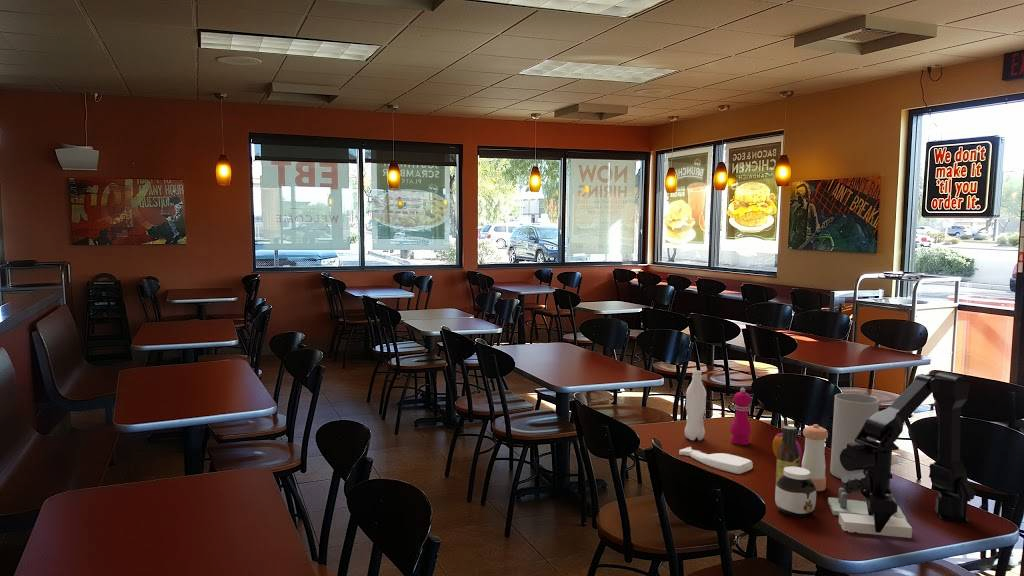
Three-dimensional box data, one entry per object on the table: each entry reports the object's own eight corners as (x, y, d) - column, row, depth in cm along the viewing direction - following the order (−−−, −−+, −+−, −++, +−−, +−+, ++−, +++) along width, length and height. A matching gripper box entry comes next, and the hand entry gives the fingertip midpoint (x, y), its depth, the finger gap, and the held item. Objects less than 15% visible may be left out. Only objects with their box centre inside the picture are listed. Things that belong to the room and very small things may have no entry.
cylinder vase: (851, 467, 238) (856, 392, 235) (883, 480, 226) (888, 401, 223) (821, 471, 233) (825, 394, 231) (851, 485, 222) (856, 404, 219)
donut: (794, 459, 245) (795, 430, 244) (802, 468, 236) (804, 438, 235) (770, 458, 246) (771, 429, 245) (777, 467, 236) (778, 437, 235)
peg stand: (897, 509, 203) (899, 491, 203) (906, 523, 194) (907, 504, 193) (827, 501, 208) (829, 483, 208) (832, 514, 199) (834, 496, 198)
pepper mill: (725, 440, 265) (728, 386, 263) (742, 438, 267) (745, 384, 265) (737, 446, 258) (740, 390, 256) (755, 444, 260) (757, 389, 258)
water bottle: (707, 438, 267) (710, 370, 265) (700, 442, 261) (703, 374, 259) (688, 434, 271) (690, 368, 269) (681, 439, 265) (684, 371, 263)
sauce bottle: (799, 499, 210) (803, 431, 208) (776, 497, 211) (780, 430, 209) (795, 491, 216) (799, 425, 214) (773, 489, 217) (776, 423, 215)
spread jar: (787, 519, 196) (790, 477, 194) (762, 503, 206) (764, 463, 205) (825, 514, 199) (828, 473, 198) (798, 499, 210) (800, 459, 209)
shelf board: (903, 529, 191) (904, 518, 191) (911, 539, 185) (912, 528, 185) (838, 523, 194) (839, 512, 194) (843, 533, 188) (844, 521, 188)
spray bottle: (737, 476, 229) (672, 457, 247) (755, 469, 236) (691, 451, 254) (737, 467, 229) (672, 449, 247) (756, 460, 236) (691, 442, 254)
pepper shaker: (801, 480, 225) (805, 419, 223) (827, 485, 221) (830, 423, 219) (797, 487, 219) (800, 425, 217) (823, 493, 215) (827, 429, 213)
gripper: (839, 452, 199) (835, 508, 201) (850, 475, 181) (846, 535, 183) (884, 457, 196) (880, 513, 198) (899, 480, 178) (895, 542, 180)
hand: (874, 525), depth 190 cm, fingers open, 8 cm apart
